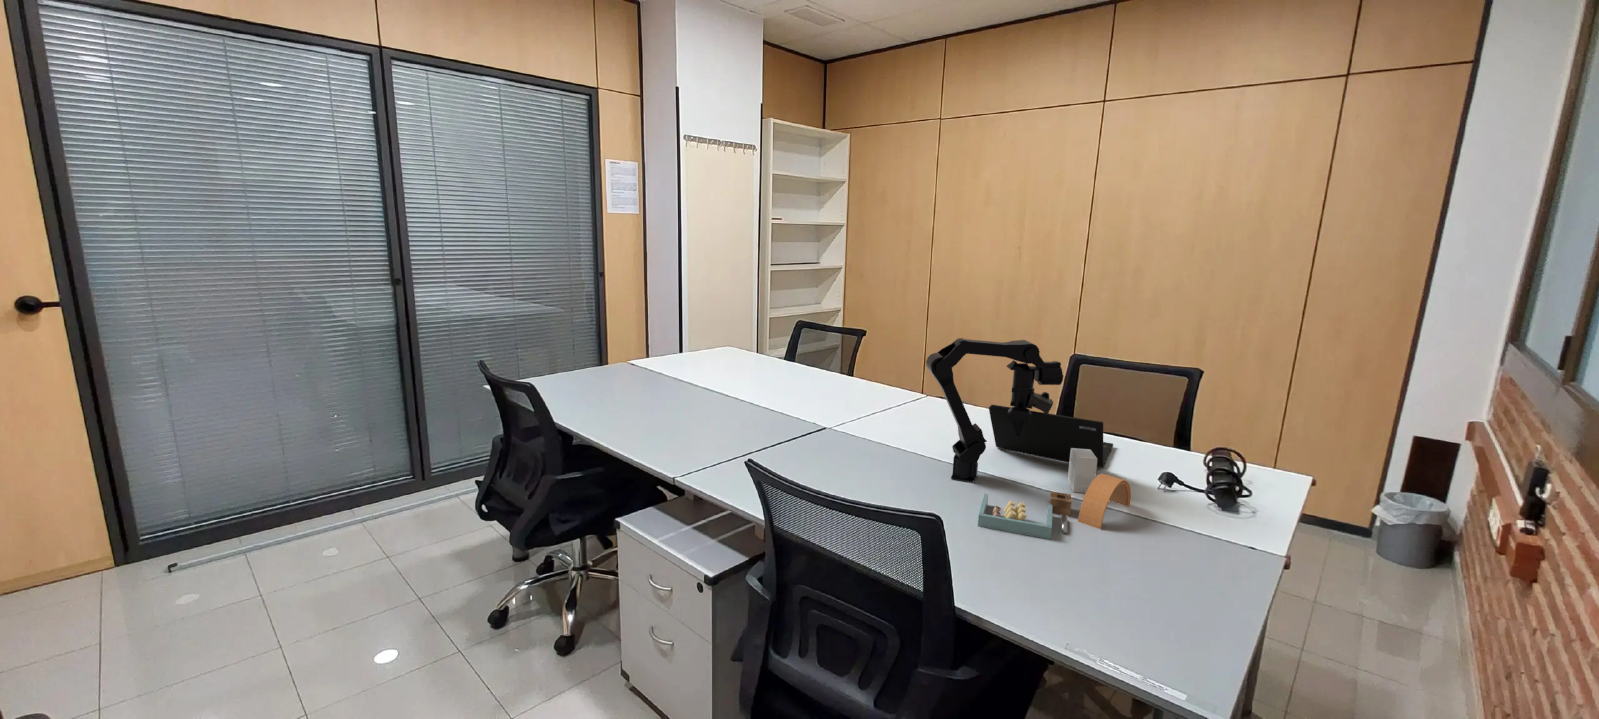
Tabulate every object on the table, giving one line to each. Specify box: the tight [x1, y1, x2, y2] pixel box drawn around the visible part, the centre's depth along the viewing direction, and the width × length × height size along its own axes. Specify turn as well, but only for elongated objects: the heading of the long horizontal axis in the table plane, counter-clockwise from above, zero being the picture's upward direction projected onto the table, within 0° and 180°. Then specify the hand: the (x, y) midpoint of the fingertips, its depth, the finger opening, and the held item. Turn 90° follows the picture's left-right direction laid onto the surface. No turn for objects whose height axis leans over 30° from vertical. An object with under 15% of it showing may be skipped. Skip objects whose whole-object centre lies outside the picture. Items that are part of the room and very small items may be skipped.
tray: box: [977, 493, 1053, 540], centre depth 161 cm, size 17×14×3 cm
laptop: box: [988, 404, 1114, 469], centre depth 206 cm, size 33×38×19 cm
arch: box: [1077, 473, 1132, 530], centre depth 165 cm, size 6×20×10 cm, turn 133°
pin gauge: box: [1060, 515, 1068, 535], centre depth 158 cm, size 1×8×1 cm, turn 158°
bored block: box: [1049, 491, 1072, 517], centre depth 167 cm, size 5×5×4 cm
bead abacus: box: [991, 500, 1028, 521], centre depth 160 cm, size 5×7×8 cm
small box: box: [1067, 448, 1098, 494], centre depth 181 cm, size 8×6×10 cm
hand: (1018, 435), depth 186 cm, fingers closed
